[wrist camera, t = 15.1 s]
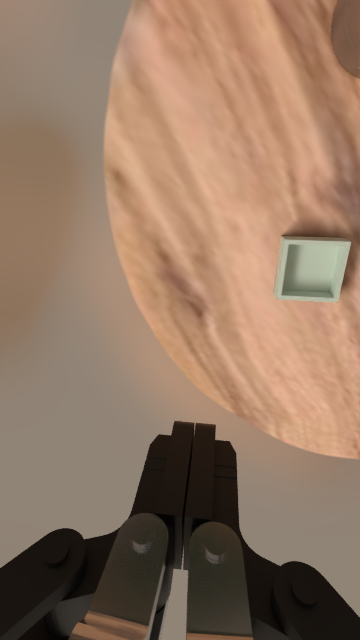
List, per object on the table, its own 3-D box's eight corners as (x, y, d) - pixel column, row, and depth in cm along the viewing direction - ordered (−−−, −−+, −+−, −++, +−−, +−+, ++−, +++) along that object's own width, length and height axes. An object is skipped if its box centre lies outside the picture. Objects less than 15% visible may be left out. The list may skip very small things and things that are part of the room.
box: (281, 235, 38) (284, 239, 36) (343, 237, 37) (351, 241, 35) (273, 292, 41) (276, 299, 39) (331, 295, 40) (337, 302, 38)
